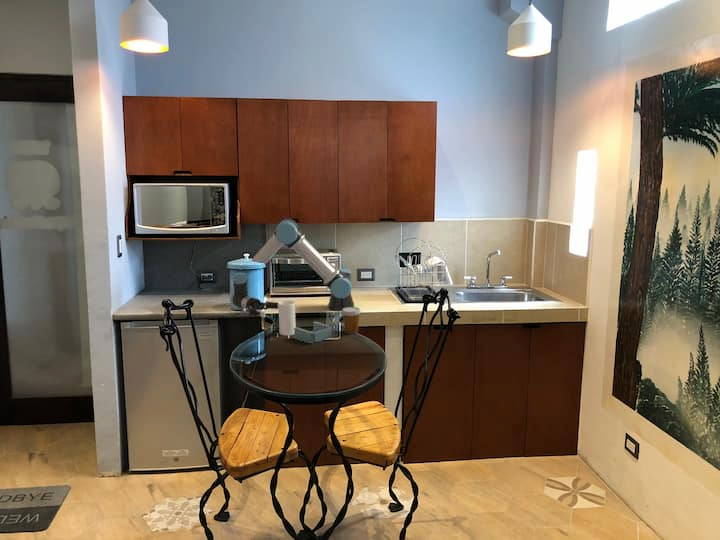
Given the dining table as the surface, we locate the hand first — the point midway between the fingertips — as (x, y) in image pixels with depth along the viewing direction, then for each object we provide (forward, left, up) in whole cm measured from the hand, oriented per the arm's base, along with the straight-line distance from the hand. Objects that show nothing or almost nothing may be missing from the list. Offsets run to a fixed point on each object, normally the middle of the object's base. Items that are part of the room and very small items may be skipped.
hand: (275, 311), depth 292 cm
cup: (0, +10, -9) cm, 13 cm away
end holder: (-5, +25, -9) cm, 27 cm away
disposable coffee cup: (-23, +33, -9) cm, 41 cm away
